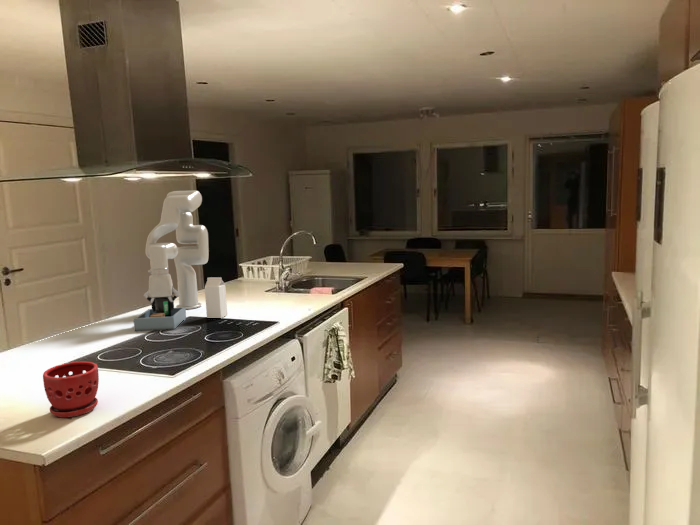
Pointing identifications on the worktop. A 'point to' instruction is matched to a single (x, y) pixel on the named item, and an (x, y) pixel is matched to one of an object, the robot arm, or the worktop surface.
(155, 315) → the tan wooden block
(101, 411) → the worktop surface
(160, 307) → the supplement bottle
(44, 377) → the plant pot
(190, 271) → the robot arm
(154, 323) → the box
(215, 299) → the milk carton
